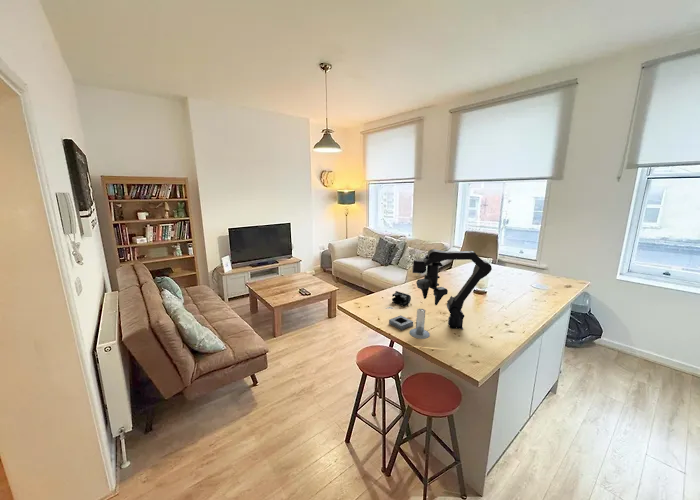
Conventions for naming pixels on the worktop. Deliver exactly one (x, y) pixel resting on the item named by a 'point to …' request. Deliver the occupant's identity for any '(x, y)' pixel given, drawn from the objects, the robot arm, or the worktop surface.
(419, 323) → the steel peg
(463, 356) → the worktop surface
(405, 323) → the socket block
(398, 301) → the end cap
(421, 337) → the rubber pad
